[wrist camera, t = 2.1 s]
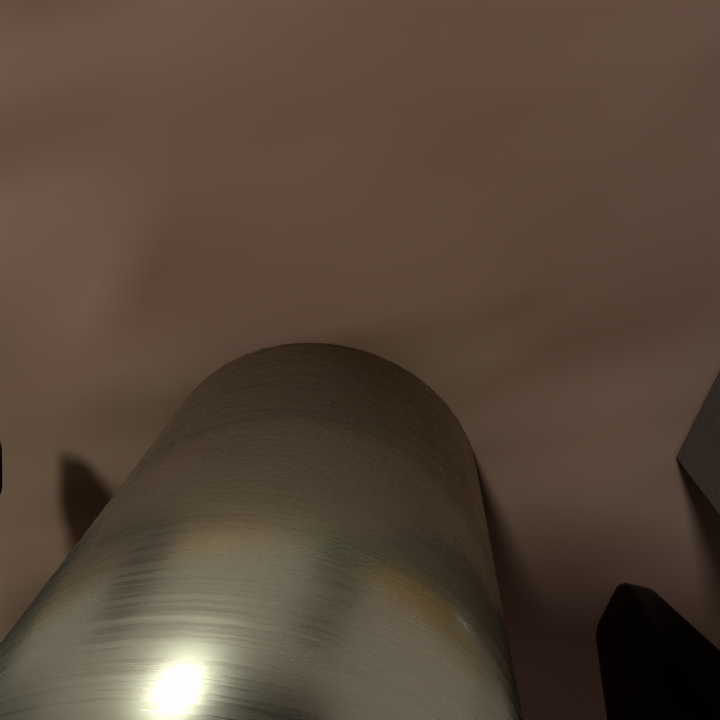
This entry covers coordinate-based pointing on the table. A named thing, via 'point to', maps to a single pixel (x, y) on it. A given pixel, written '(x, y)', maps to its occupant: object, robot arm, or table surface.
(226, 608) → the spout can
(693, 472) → the grey gold-framed plate fixture
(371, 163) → the table surface
